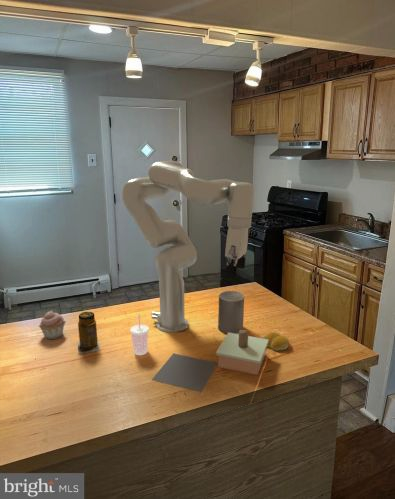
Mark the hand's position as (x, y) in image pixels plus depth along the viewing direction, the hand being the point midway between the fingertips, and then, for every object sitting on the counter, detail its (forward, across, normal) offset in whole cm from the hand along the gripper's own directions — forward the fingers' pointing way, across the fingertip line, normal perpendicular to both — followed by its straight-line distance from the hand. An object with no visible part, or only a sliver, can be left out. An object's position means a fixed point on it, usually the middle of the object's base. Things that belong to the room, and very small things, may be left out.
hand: (235, 272), depth 124 cm
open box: (+28, +8, +6) cm, 29 cm away
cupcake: (+31, +18, -63) cm, 72 cm away
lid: (+23, +8, +6) cm, 25 cm away
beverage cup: (+29, +16, -27) cm, 43 cm away
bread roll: (+28, -8, +14) cm, 32 cm away
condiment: (+30, +19, -46) cm, 58 cm away
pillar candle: (+28, -13, -4) cm, 31 cm away
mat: (+28, +20, -8) cm, 36 cm away
